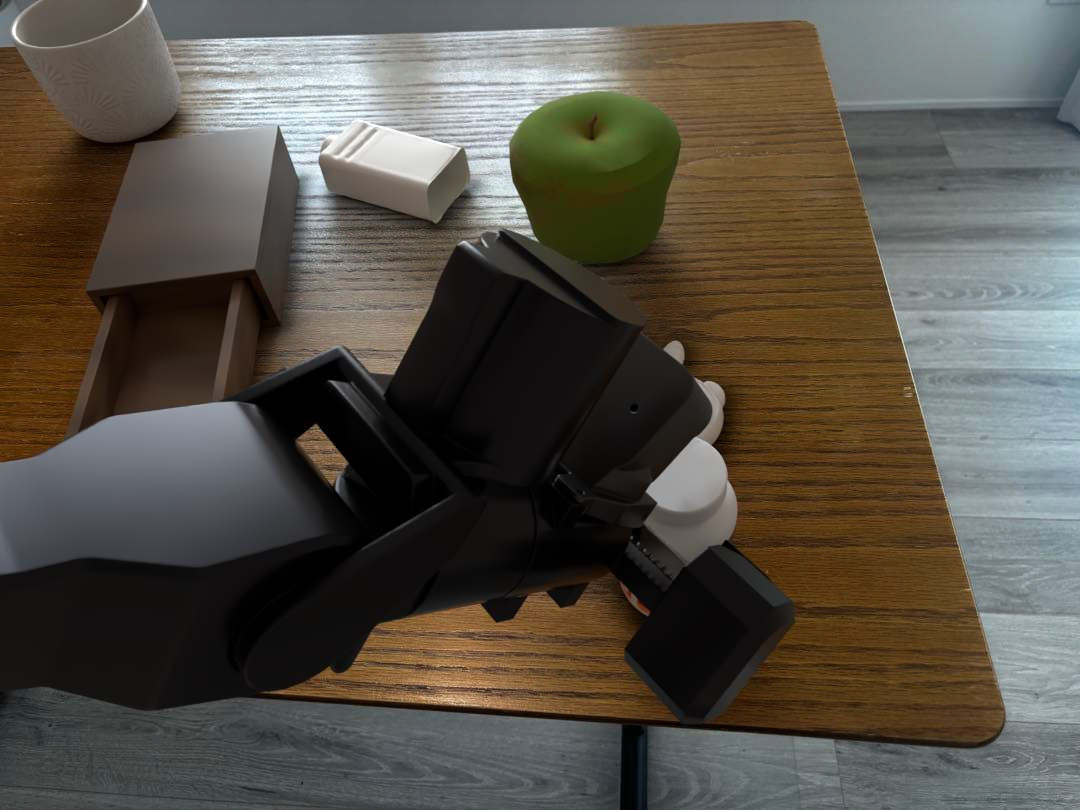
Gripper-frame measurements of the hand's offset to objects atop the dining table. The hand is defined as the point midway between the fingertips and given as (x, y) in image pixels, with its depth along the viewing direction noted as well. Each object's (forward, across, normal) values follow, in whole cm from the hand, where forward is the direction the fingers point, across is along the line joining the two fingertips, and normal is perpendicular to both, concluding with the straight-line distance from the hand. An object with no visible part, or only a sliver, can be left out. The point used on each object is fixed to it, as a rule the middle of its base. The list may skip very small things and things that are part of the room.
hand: (678, 507), depth 43 cm
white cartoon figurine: (+11, +11, 0) cm, 16 cm away
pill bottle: (+6, 0, +6) cm, 8 cm away
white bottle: (+12, +43, 0) cm, 45 cm away
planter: (+2, +72, +9) cm, 73 cm away
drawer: (-7, +32, +17) cm, 37 cm away
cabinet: (0, +46, +11) cm, 47 cm away
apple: (+18, +26, -6) cm, 32 cm away
